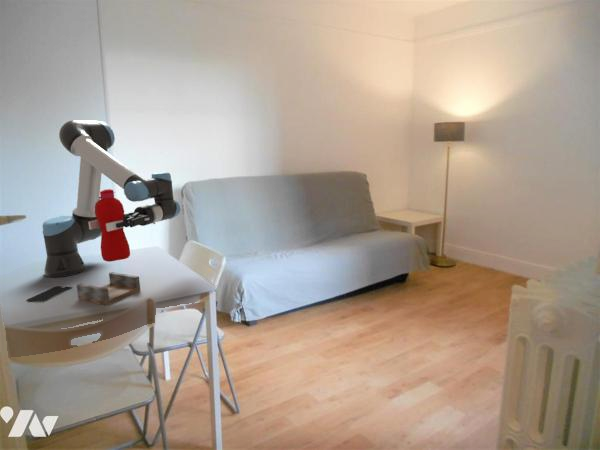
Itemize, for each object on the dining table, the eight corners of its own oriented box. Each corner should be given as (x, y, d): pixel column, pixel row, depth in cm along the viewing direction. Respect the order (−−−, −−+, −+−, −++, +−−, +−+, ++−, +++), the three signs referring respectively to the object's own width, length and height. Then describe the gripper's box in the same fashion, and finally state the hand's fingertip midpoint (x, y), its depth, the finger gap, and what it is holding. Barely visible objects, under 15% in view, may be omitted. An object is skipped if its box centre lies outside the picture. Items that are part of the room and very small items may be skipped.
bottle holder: (78, 299, 145) (76, 284, 144) (113, 285, 158) (112, 272, 157) (106, 305, 139) (104, 290, 138) (140, 290, 152) (138, 276, 151)
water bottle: (96, 258, 149) (85, 190, 144) (128, 253, 154) (118, 187, 149) (98, 264, 141) (86, 192, 136) (132, 258, 147) (122, 189, 141)
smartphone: (73, 286, 157) (42, 301, 143) (74, 288, 157) (43, 303, 143) (56, 285, 159) (24, 300, 144) (56, 287, 159) (24, 302, 144)
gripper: (169, 225, 158) (121, 239, 137) (129, 222, 166) (79, 234, 146) (167, 206, 156) (118, 217, 136) (127, 204, 165) (76, 214, 144)
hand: (98, 226), depth 141 cm, fingers closed on water bottle, 8 cm apart
